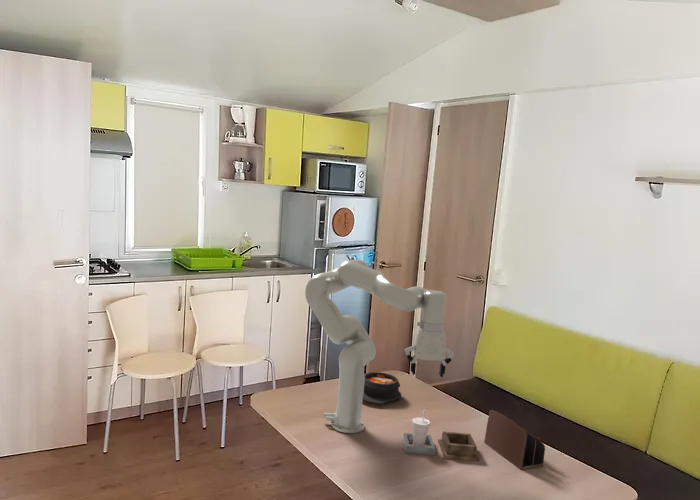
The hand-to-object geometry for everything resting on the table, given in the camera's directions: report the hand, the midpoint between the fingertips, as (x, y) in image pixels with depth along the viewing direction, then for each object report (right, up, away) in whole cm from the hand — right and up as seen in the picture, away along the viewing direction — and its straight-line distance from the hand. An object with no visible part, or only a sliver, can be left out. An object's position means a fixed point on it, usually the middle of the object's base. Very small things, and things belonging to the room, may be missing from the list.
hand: (427, 374), depth 187 cm
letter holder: (+31, -30, +5) cm, 43 cm away
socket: (+11, -28, +3) cm, 30 cm away
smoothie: (-3, -27, +3) cm, 27 cm away
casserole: (-14, -21, +47) cm, 53 cm away
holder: (-3, -26, +3) cm, 27 cm away
